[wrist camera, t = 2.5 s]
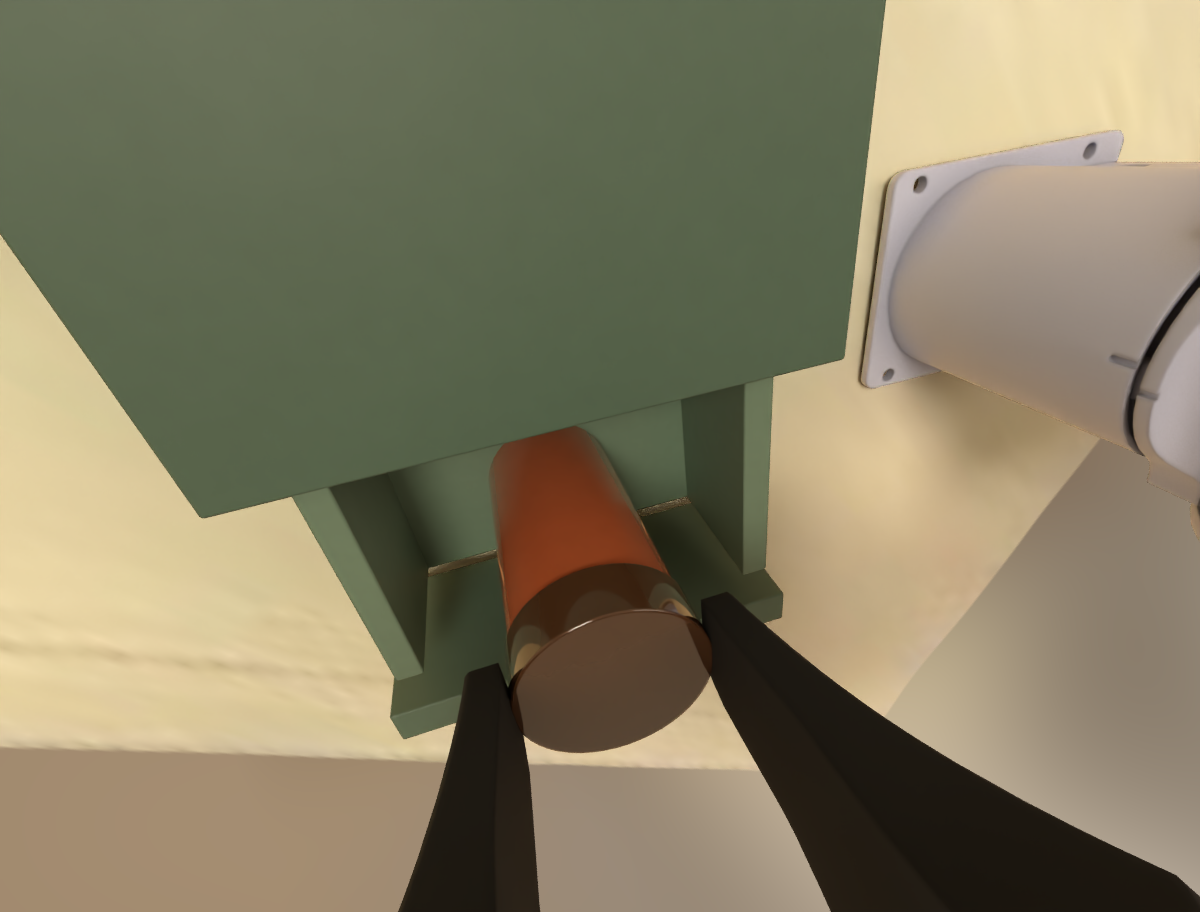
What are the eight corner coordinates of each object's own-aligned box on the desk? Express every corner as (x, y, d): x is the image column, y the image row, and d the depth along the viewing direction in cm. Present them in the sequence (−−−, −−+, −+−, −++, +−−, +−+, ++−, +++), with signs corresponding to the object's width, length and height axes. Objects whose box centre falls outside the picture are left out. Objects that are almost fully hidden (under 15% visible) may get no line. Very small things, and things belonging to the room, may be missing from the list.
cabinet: (708, 291, 18) (845, 360, 12) (295, 381, 16) (199, 521, 10) (692, -266, 12) (978, -763, 5) (-6, -230, 10) (-843, -951, 3)
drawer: (712, 583, 24) (777, 687, 19) (442, 666, 22) (441, 803, 18) (700, 239, 16) (806, 272, 11) (279, 324, 14) (195, 406, 10)
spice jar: (601, 405, 17) (712, 583, 10) (618, 509, 19) (717, 715, 12) (469, 437, 16) (485, 652, 9) (502, 541, 19) (535, 777, 12)
